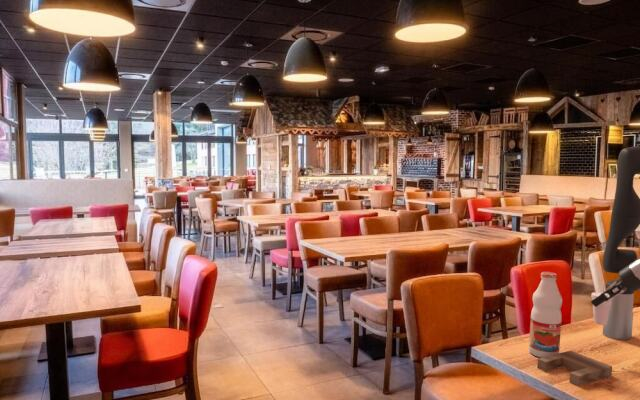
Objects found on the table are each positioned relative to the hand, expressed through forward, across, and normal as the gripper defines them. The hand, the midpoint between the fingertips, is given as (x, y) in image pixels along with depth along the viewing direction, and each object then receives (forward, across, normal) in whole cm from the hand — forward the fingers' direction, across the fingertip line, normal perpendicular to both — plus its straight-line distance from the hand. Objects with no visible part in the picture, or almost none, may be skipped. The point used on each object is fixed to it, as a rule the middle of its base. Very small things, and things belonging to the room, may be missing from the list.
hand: (596, 301), depth 165 cm
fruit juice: (+22, +10, +4) cm, 25 cm away
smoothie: (+4, 0, +6) cm, 7 cm away
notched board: (+14, +18, +12) cm, 26 cm away
